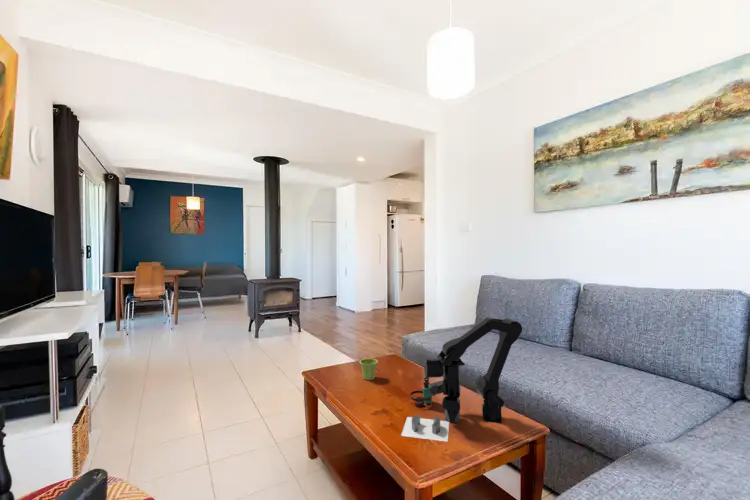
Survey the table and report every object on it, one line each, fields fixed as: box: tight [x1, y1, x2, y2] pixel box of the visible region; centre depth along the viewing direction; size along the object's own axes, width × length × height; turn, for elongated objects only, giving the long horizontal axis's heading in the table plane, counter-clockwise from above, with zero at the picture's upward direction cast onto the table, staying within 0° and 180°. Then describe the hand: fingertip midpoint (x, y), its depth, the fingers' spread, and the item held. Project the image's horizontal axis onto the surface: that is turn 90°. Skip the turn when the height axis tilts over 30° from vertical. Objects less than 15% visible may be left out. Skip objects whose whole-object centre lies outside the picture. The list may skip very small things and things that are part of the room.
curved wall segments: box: [411, 414, 441, 435], centre depth 123 cm, size 10×7×3 cm
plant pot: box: [359, 358, 379, 381], centre depth 174 cm, size 9×9×9 cm
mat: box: [400, 416, 450, 443], centre depth 123 cm, size 16×14×1 cm
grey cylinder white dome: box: [444, 409, 461, 424], centre depth 129 cm, size 6×6×4 cm
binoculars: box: [409, 376, 433, 409], centre depth 143 cm, size 9×11×10 cm
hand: (452, 417), depth 129 cm, fingers open, 9 cm apart
